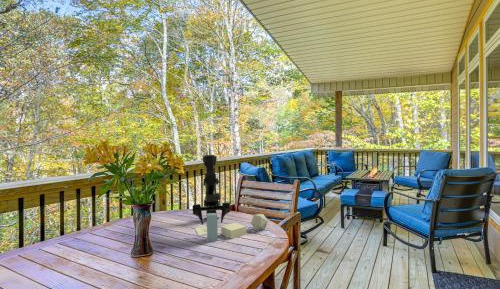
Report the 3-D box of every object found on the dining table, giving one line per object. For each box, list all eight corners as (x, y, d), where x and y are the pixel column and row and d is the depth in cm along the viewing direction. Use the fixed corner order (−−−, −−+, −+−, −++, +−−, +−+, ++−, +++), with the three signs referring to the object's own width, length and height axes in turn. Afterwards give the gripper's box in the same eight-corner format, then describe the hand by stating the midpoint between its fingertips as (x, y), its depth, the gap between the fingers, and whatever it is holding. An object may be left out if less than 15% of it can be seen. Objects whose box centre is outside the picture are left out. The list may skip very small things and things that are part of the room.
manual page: (194, 228, 160) (194, 227, 160) (210, 226, 163) (210, 225, 163) (198, 235, 149) (198, 234, 149) (215, 233, 152) (215, 232, 152)
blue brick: (207, 238, 144) (206, 213, 144) (217, 237, 145) (216, 212, 144) (207, 241, 140) (206, 215, 140) (217, 240, 141) (217, 215, 140)
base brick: (221, 234, 150) (221, 226, 150) (235, 230, 156) (235, 222, 156) (231, 238, 143) (231, 230, 143) (245, 234, 149) (245, 226, 149)
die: (264, 233, 151) (272, 216, 154) (249, 226, 151) (257, 209, 154) (261, 234, 158) (268, 218, 162) (247, 227, 158) (254, 211, 162)
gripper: (192, 188, 146) (191, 216, 135) (229, 186, 148) (231, 213, 138) (193, 200, 154) (192, 228, 143) (228, 198, 156) (231, 225, 146)
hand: (212, 223), depth 142 cm, fingers open, 9 cm apart
